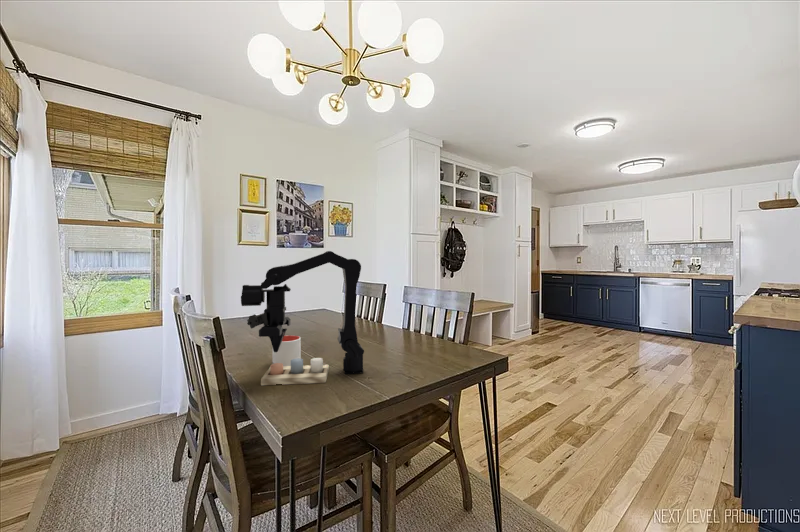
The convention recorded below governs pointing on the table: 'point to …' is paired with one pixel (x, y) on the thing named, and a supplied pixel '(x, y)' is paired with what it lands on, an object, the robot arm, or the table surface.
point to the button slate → (296, 366)
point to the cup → (288, 350)
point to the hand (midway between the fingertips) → (275, 351)
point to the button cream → (316, 365)
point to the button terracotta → (276, 369)
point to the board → (295, 376)
